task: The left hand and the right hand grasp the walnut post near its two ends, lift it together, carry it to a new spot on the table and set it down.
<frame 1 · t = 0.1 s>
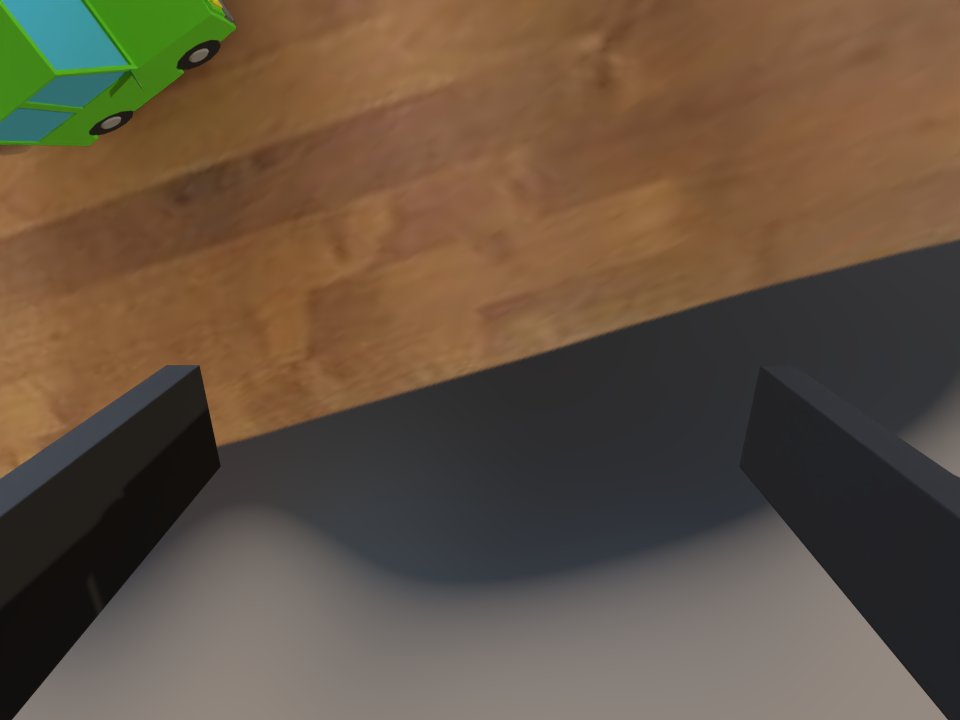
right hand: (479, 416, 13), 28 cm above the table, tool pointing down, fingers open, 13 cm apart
toy car: (131, 30, 34), on the table
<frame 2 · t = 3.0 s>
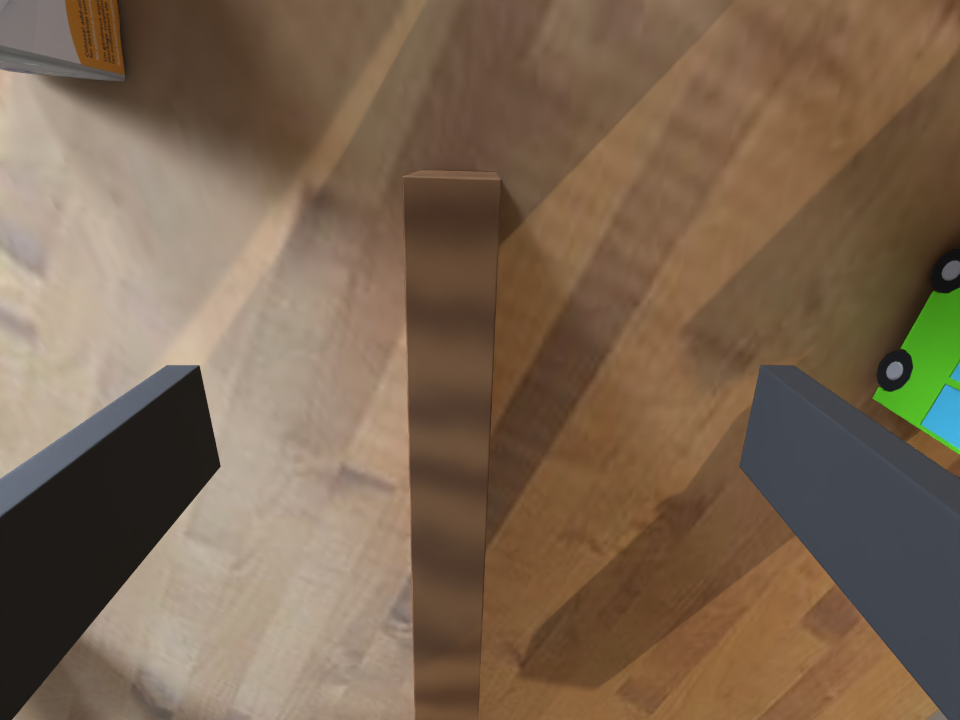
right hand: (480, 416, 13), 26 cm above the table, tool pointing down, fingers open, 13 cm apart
toy car: (955, 321, 38), on the table
post: (452, 593, 48), on the table
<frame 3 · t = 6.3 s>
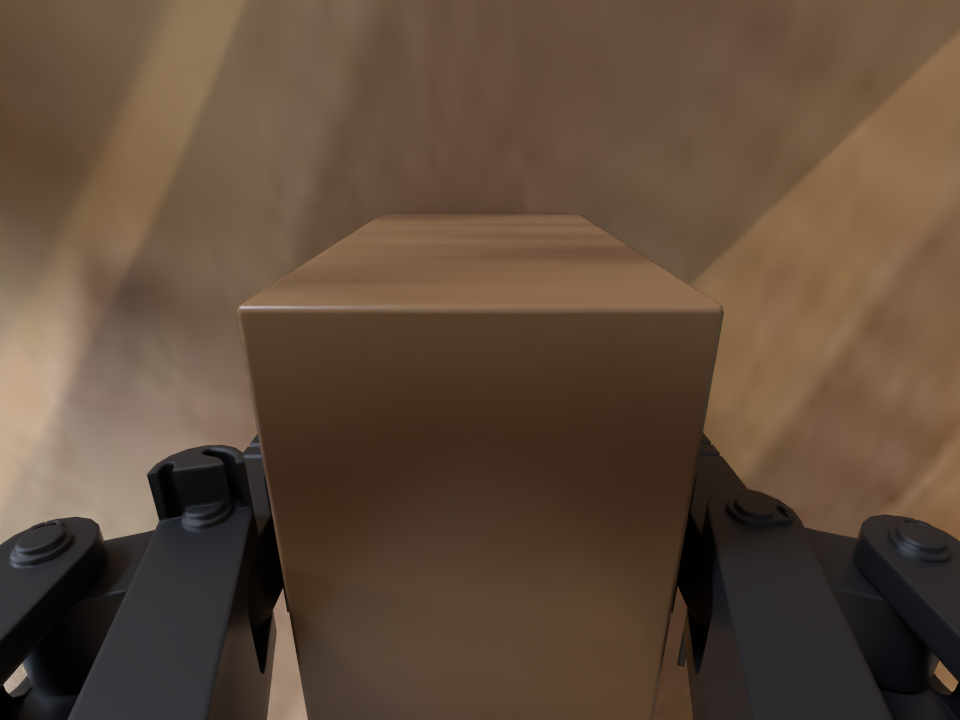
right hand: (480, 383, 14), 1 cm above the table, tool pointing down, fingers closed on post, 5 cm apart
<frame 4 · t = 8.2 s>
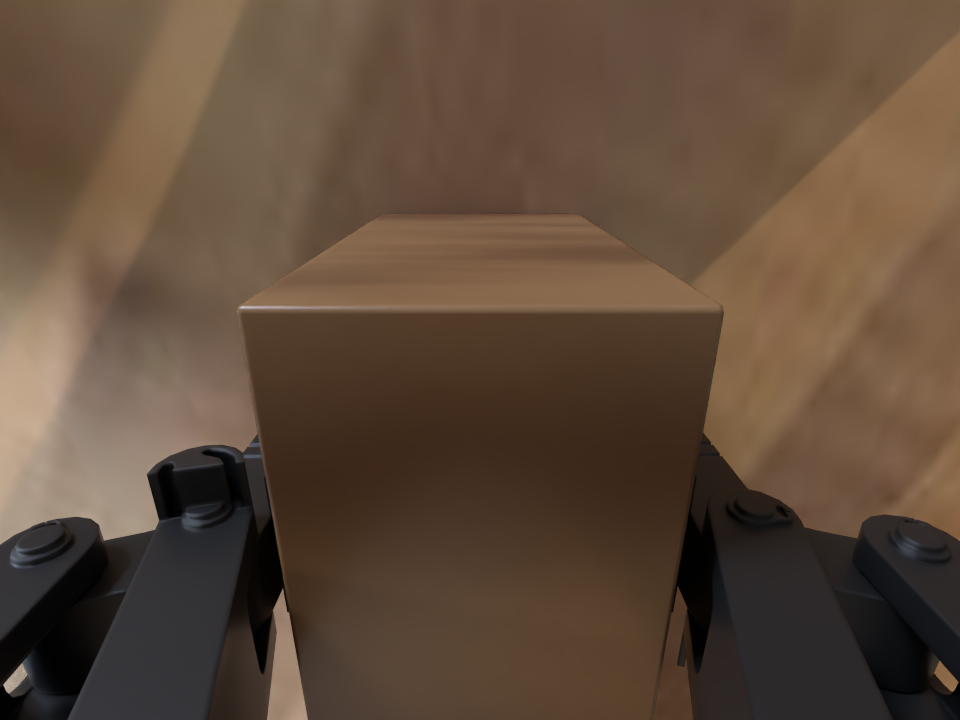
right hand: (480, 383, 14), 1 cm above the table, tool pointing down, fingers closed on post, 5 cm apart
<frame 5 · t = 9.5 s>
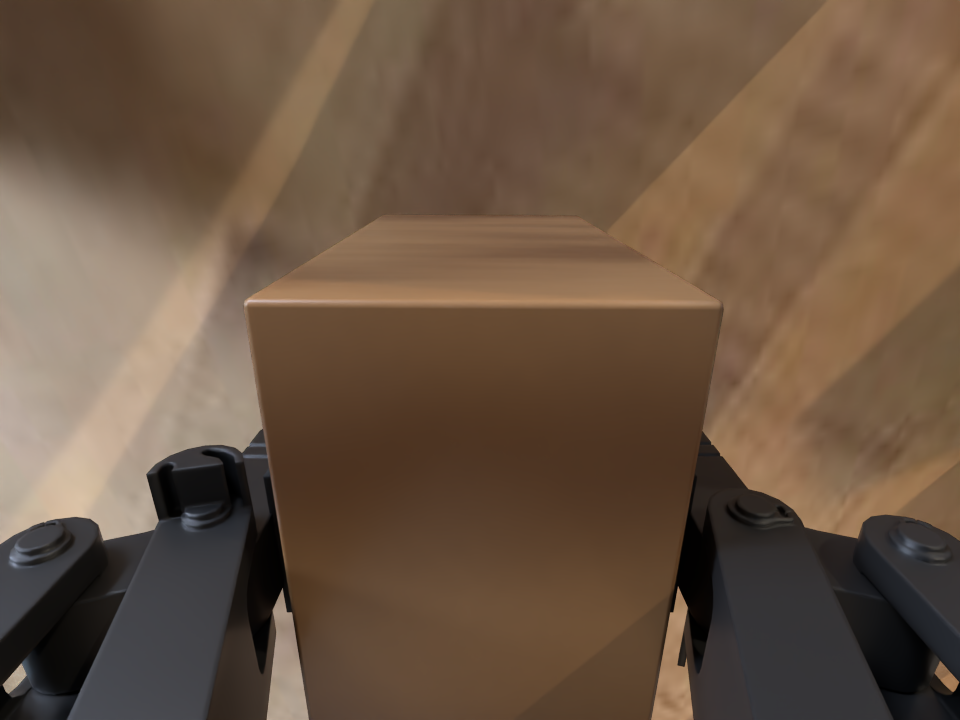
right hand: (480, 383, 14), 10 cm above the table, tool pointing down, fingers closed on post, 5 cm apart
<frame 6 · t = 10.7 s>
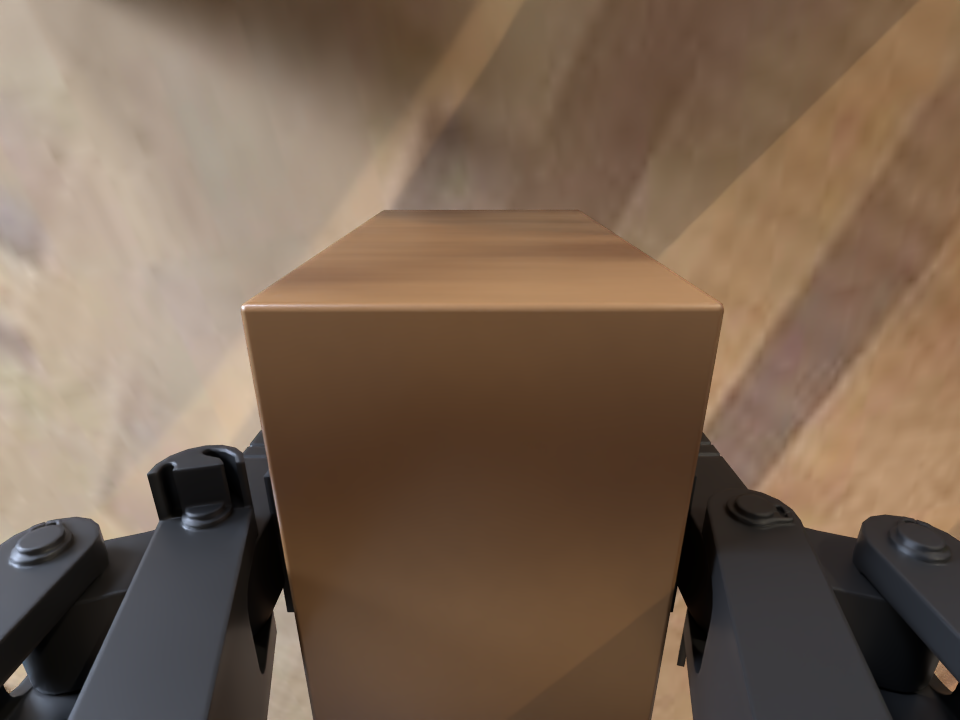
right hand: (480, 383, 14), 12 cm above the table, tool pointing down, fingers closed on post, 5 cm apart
when the left hand's fingers open (1 cm above the table, at t = 13.2 s): post stays where it is, on the table.
when the right hand's fingers open (1 cm above the table, at t = 13.2 s): post stays where it is, on the table.
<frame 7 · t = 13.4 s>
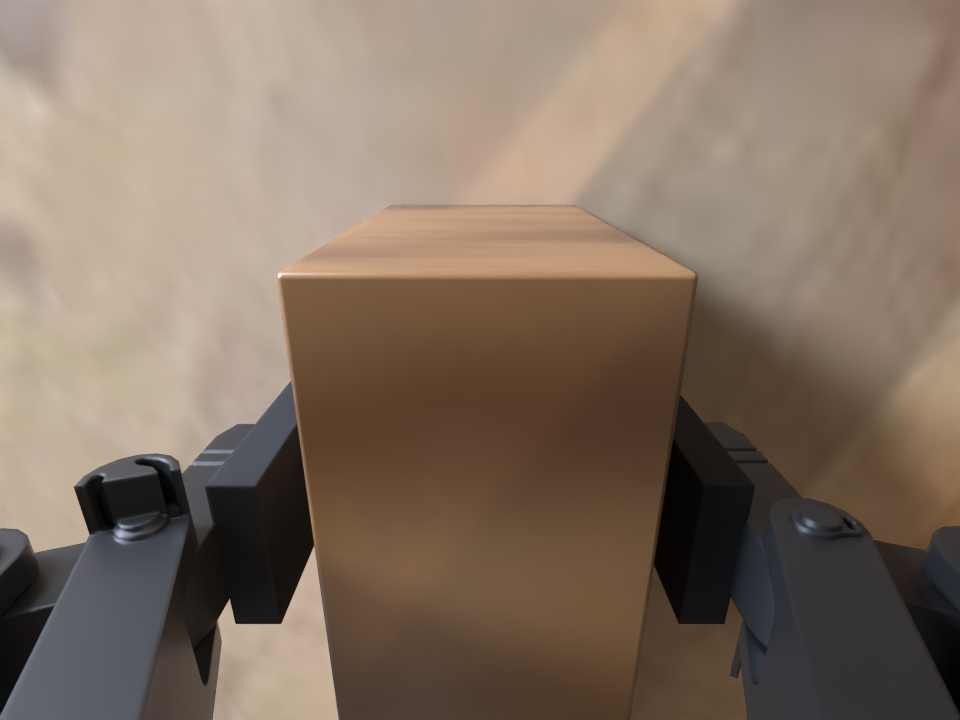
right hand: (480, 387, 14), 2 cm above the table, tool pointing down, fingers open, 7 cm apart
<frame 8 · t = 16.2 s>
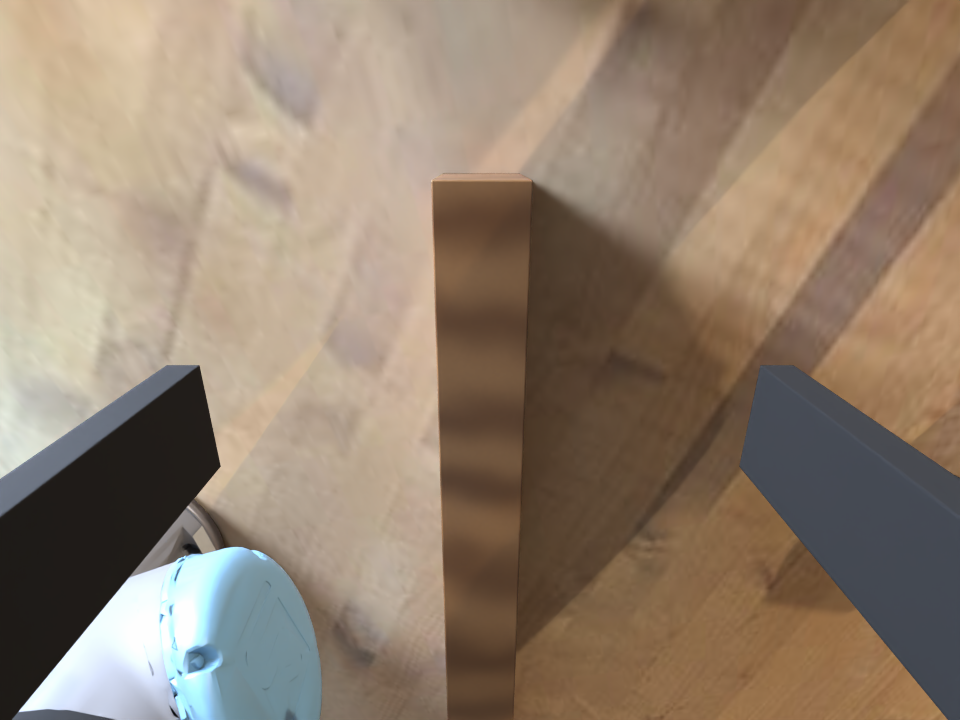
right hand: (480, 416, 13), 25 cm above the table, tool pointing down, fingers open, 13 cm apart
post: (480, 604, 47), on the table
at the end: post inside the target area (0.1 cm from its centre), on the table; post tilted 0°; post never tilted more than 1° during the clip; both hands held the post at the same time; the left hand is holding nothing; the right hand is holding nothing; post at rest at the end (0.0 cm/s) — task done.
